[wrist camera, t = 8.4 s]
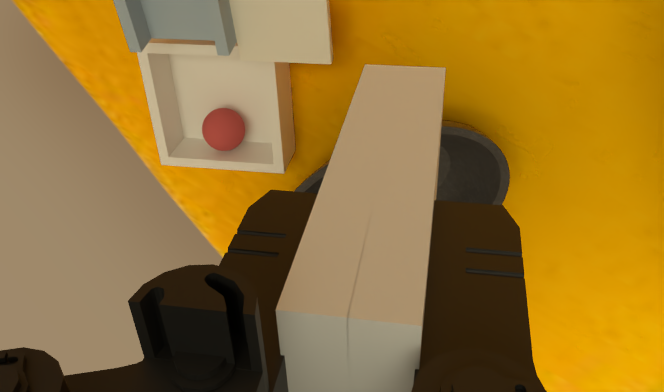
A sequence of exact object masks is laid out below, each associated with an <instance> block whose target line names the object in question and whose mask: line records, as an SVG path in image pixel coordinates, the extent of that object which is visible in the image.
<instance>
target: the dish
mask: <svg viewBox="0 0 664 392" xmlns="http://www.w3.org/2000/svg"><path fill="white" fill-rule="evenodd" d="M137 55H138V59H139V64H140V69H141V73H142V78H143V83H144V87H145V92H146V96H147V101H148V106H149V110H150V115H151V120H152V124H153V129H154V133H155V138H156V143H157V147H158V152H159V157H160V161H161V165H171V166H185V167H198V168H212V169H226V170H240V171H254V172H268V173H282V174H284V173H285V171H286V169H287V167H288V165H289V162H290V160H291V158H292V156H293V154H294V152H295V149H296V147H295V134H294V121H293V107H292V94H291V81H290V67H289V63H287V62H263V61H241V60H240V55H239V50H238V44H237V42H236V44H235V46H234V48H233V50H232V52H231V54H230V55H229V56H221V55H217V50H216V46H215V41H210V40H182V39H154V38H151V40H150V41H149V42H148V44H147V45H146V47H145V48H144V49H143V51H142V52H137ZM218 108H228V109H231V110H234V111H235V112H237V113H238V114H239V115H240V116H241V118H242V119H243V121H244V124H245V136H244V138H243V140H242V142H241V143H240V144H239V145H238V146H237V147H236V148H234V149H232V150H228V151H220V150H216V149H214V148H212V147H211V146H210V145H208V144H207V142H206V141H205V139H204V137H203V134H202V124H203V121H204V119H205V117H206V116H207V115H208V114H209V113H210V112H211V111H213V110H215V109H218Z"/></svg>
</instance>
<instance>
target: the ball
mask: <svg viewBox="0 0 664 392" xmlns="http://www.w3.org/2000/svg"><path fill="white" fill-rule="evenodd" d="M202 134H203V137H204V139H205V141H206V142H207V144H208V145H210V146H211V147H212V148H214V149H216V150H220V151H228V150H232V149H234V148H236V147H237V146H238V145H239V144H240V143H241V142H242V140H243V138H244V136H245V124H244V121H243V119H242V118H241V116H240V115H239V114H238V113H237V112H235V111H234V110H231V109H228V108H218V109H215V110H213V111H211V112H210V113H209V114H208V115H207V116H206V117H205V119H204V121H203V124H202Z"/></svg>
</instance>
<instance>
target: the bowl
mask: <svg viewBox="0 0 664 392" xmlns="http://www.w3.org/2000/svg"><path fill="white" fill-rule="evenodd" d="M329 162H330V160H329V161H328V162H327V163H325V164H324V165H323V166H321V167H320V168H319V169H318V170H316V171H315V172H314V173H313V174H312V175H311V176H309V177H308V178H307V179H306V180H305V181H304V182H303V183H302V184H301V185H300V186H299V187H298V188H297V189H296V190H295V191H294V192H306V193H318V192H319V189H320V187H321V184H322V181H323V178H324V176H325V173H326V170H327V167H328V165H329ZM509 178H510V175H509V167H508V163H507V161H506V158H505V156H504V155H503V153H502V151H501V150H500V149H499V148H498V147H497V146H496V144H495V143H494V142H493V141H492V140H491V139H489V138H488V137H487V136H486V135H484V134H483V133H481V132H480V131H478V130H476V129H474V128H472V127H470V126H467V125H465V124H461V123H458V122H453V121H446V120H442V127H441V140H440V154H439V168H438V181H437V194H436V200H440V201H453V202H466V203H479V204H492V205H502V203H503V201H504V199H505V196H506V193H507V191H508V186H509Z"/></svg>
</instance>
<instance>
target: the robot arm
mask: <svg viewBox="0 0 664 392" xmlns="http://www.w3.org/2000/svg"><path fill="white" fill-rule="evenodd" d="M445 72H446V68H441V67H416V66H392V65H367V64H365V66H364V69H363V71H362V74H361V77H360V80H359V82H358V85H357V88H356V91H355V93H354V96H353V99H352V102H351V104H350V107H349V110H348V113H347V115H346V118H345V121H344V124H343V126H342V129H341V132H340V134H339V137H338V140H337V143H336V145H335V148H334V151H333V154H332V156H331V159H330V162H329V165H328V167H327V170H326V173H325V176H324V178H323V181H322V184H321V187H320V189H319V192H318V193H306V192H293V191H280V190H270V191H269V192H268V193H266V194H265V195H264V196H263V197H261V198H260V199H259V200H258V201H256V202H255V203H254V204H253V205H251V206H250V207H249V208H248V210H247V212H246V214H245V216H244V218H243V220H242V222H241V224H240V226H239V227H238V229H237V234H235V235H234V237H233V239H232V241H231V243H230V245H229V247H228V253H225V255H224V257H223V259H222V261H221V263H220V265H219V266H217V265H188V266H185V267H181V268H178V269H175V270H171V271H168V272H164V273H163V274H161V275H159V276H157V277H156V278H154V279H152V280H150V281H149V282H147V283H145V284H143V285H142V287H141V288H140V289H139V290H138V291H137V292H136V293H135V294H134V295H133V296H132V297H131V298H130V299H129V301H128V303H129V306H130V310H131V313H132V316H133V320H134V323H135V327H136V330H137V334H138V337H139V340H140V344H141V347H142V351H143V354H144V359H143V361H141V362H139V363H137V364H132V365H128V366H124V367H120V368H114V369H107V370H100V371H94V372H87V373H81V374H73V375H66V376H64V375H63V372H62V370H61V367H60V365H59V362H58V361H57V360H56V359H54V358H53V357H51V356H50V355H48V354H47V353H46V352H45V351H41V350H35V349H30V348H24V347H23V348H16V349H10V350H2V351H0V392H547V391H546V390H545V389H544V387H543V385H542V383H541V382H540V380H539V378H538V376H537V374H536V370H535V367H534V363H533V357H532V347H531V337H530V327H529V317H528V307H527V297H526V287H525V279H524V267H523V257H522V247H521V237H520V228H519V226H518V225H517V224H516V222H515V221H514V220H513V218H512V217H511V216H510V214H509V213H508V212H507V210H506V209H505V208H504V206H503V205H492V204H479V203H466V202H453V201H440V200H436V194H437V181H438V168H439V154H440V140H441V127H442V113H443V99H444V86H445Z"/></svg>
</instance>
